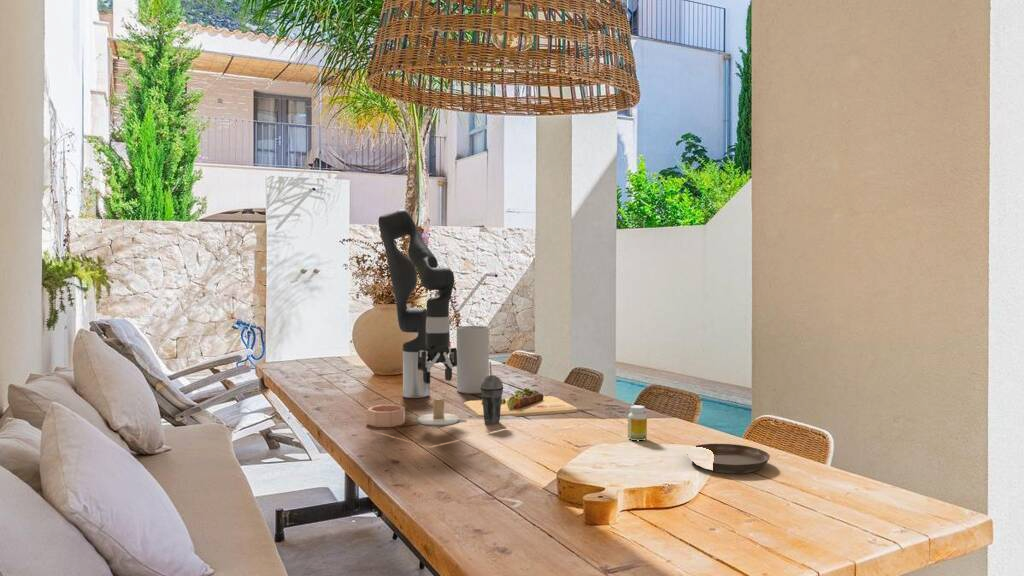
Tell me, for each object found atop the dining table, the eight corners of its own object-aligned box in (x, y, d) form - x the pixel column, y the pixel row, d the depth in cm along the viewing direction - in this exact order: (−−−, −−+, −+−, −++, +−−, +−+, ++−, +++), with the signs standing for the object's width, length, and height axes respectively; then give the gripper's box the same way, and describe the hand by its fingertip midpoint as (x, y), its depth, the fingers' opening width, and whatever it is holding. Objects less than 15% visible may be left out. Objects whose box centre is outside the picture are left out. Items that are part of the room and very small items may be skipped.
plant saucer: (668, 460, 192) (668, 448, 192) (726, 450, 202) (726, 438, 202) (727, 482, 174) (727, 468, 174) (787, 470, 184) (787, 456, 184)
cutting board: (479, 421, 239) (479, 398, 239) (462, 406, 262) (462, 385, 261) (579, 414, 250) (579, 392, 250) (554, 400, 272) (554, 380, 272)
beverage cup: (507, 423, 233) (507, 360, 232) (497, 428, 226) (497, 363, 225) (486, 421, 236) (486, 359, 235) (476, 426, 229) (476, 362, 228)
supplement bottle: (624, 438, 214) (624, 405, 214) (639, 436, 217) (639, 403, 216) (635, 442, 210) (635, 409, 209) (650, 440, 212) (650, 407, 212)
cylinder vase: (488, 394, 281) (488, 329, 280) (455, 394, 281) (455, 329, 280) (489, 388, 294) (489, 325, 293) (458, 388, 294) (458, 325, 293)
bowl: (390, 418, 239) (390, 403, 239) (411, 424, 232) (411, 408, 231) (361, 424, 231) (361, 408, 231) (382, 430, 224) (382, 413, 223)
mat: (441, 416, 243) (441, 414, 243) (467, 422, 234) (467, 420, 234) (409, 422, 234) (409, 420, 234) (436, 429, 225) (435, 427, 225)
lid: (441, 414, 243) (441, 393, 243) (467, 420, 234) (467, 398, 234) (409, 420, 234) (409, 399, 233) (435, 427, 225) (435, 404, 224)
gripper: (447, 328, 240) (447, 378, 241) (412, 331, 230) (412, 383, 231) (462, 330, 235) (462, 380, 235) (427, 333, 225) (427, 386, 225)
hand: (437, 381), depth 233 cm, fingers open, 8 cm apart
